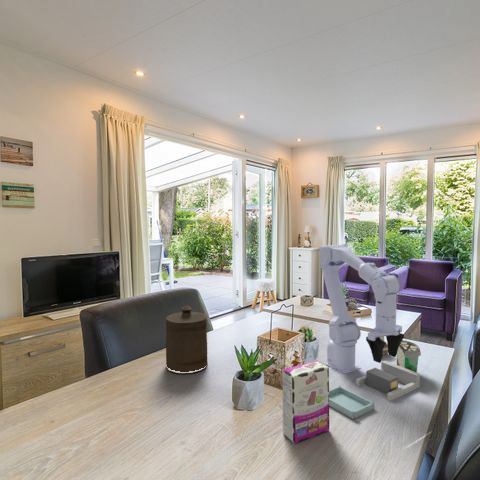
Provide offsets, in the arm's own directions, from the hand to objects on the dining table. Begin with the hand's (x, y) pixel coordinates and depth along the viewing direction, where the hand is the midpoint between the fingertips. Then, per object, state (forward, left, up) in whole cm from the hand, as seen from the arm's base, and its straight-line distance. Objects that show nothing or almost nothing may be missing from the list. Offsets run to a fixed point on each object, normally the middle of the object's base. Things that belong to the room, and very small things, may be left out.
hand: (384, 358), depth 106 cm
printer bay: (-1, +3, -10) cm, 10 cm away
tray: (-1, -17, -10) cm, 19 cm away
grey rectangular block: (-1, 0, -10) cm, 10 cm away
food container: (-2, +17, -10) cm, 20 cm away
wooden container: (-51, -43, -10) cm, 67 cm away
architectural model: (-18, +24, -10) cm, 31 cm away
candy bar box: (+2, -35, -10) cm, 37 cm away
